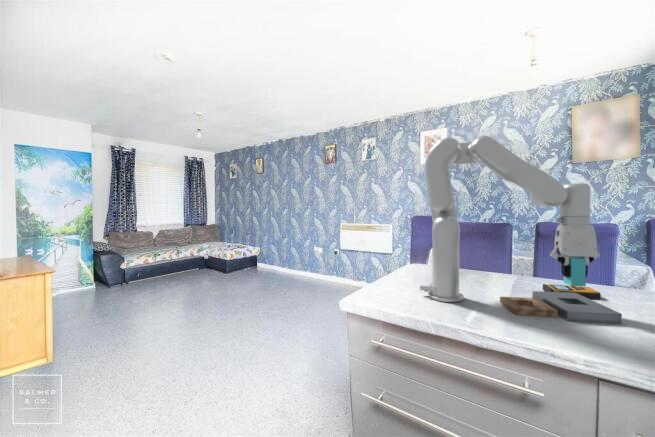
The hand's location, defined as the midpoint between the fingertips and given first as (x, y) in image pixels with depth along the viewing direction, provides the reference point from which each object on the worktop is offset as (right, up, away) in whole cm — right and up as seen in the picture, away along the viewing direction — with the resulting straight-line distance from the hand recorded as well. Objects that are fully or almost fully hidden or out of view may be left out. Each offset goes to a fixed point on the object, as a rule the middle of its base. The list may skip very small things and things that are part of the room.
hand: (574, 276), depth 94 cm
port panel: (0, -11, +1) cm, 12 cm away
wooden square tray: (-14, -12, +2) cm, 18 cm away
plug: (0, -3, 0) cm, 3 cm away
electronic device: (+13, -11, +16) cm, 24 cm away
